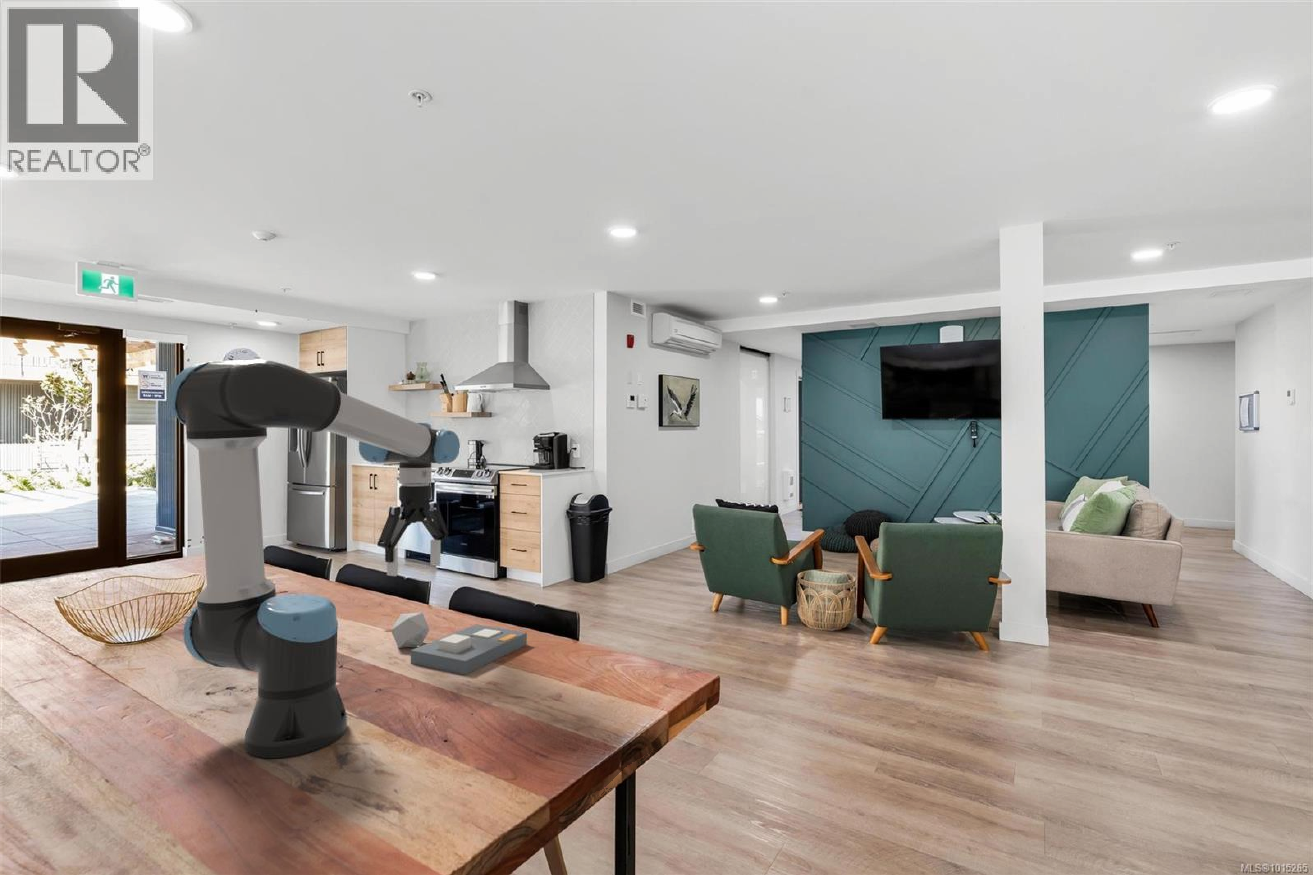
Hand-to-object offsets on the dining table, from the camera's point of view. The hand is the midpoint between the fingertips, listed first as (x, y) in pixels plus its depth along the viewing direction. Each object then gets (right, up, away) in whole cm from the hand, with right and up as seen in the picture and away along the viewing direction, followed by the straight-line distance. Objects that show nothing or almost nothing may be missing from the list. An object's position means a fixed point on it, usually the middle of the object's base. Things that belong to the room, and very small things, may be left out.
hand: (414, 570), depth 153 cm
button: (+14, -17, -11) cm, 24 cm away
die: (-1, -19, 0) cm, 19 cm away
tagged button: (+18, -19, -1) cm, 26 cm away
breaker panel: (+16, -19, -6) cm, 25 cm away
